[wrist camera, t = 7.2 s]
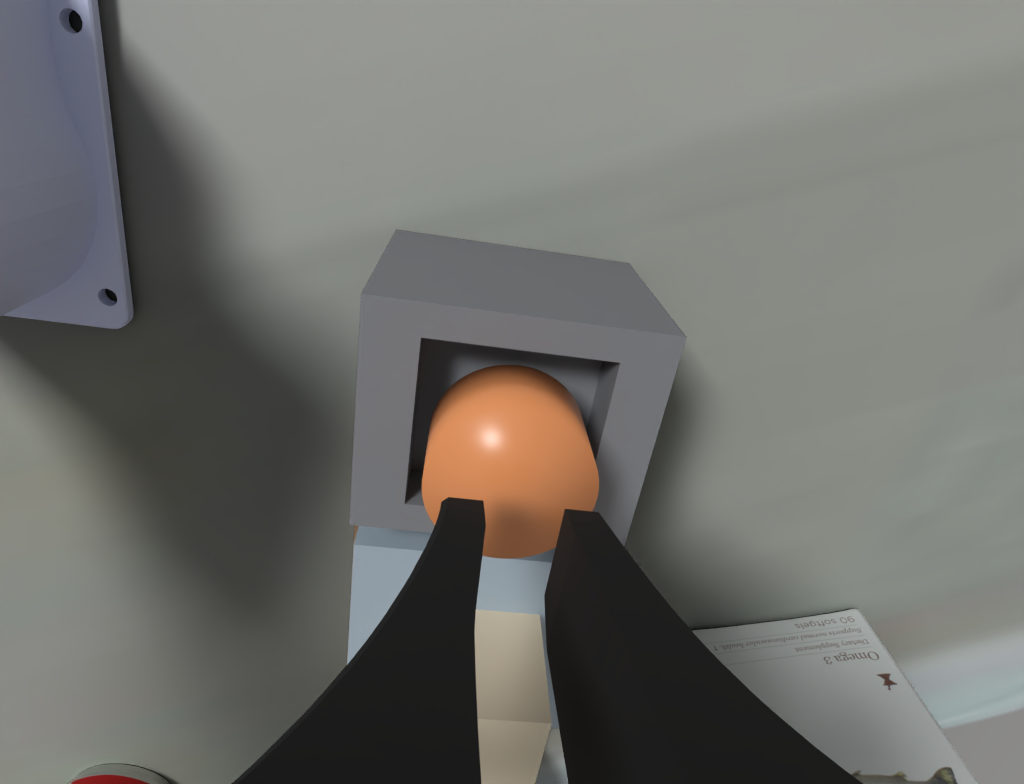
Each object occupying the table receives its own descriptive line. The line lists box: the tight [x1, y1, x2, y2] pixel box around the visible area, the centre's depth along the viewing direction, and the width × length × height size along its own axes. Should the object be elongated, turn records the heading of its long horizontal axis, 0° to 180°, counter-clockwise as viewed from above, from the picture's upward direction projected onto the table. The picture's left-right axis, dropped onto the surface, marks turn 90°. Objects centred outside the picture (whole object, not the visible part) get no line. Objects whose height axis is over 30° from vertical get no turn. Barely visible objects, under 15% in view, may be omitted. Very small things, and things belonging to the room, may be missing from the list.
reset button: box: [422, 365, 599, 559], centre depth 14 cm, size 4×4×2 cm
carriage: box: [347, 526, 559, 784], centre depth 19 cm, size 7×7×6 cm
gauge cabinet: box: [349, 230, 686, 546], centre depth 17 cm, size 6×8×6 cm
